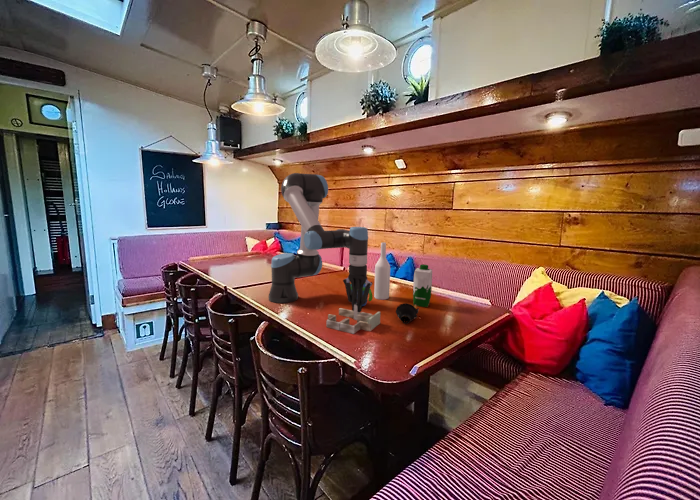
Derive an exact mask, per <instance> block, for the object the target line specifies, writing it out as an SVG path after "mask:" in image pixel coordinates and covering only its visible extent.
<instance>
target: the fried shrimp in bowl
mask: <svg viewBox="0 0 700 500" xmlns="http://www.w3.org/2000/svg"><path fill="white" fill-rule="evenodd" d="M419 310H420V309H419V307H417V306H416V304H414V305H413V304H410V303H401V304H399V305H397V307H396V309H395V314H396V315H397V318H398V319H399V321H400V322H401V323H402V324H405V325H406V324H409V323H411V322H412V321H413V320H414V319H416V318H417V317H418V313H419ZM406 318H407V319H406ZM406 321H407V322H406Z"/></svg>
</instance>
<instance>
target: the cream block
mask: <svg viewBox="0 0 700 500" xmlns="http://www.w3.org/2000/svg"><path fill="white" fill-rule="evenodd" d="M361 312H362V313H360V314H358V315H357V320H356V324H357V323H358V322H359V321H363V322H368V319H369V318H370V317H372V315H373V314H372V313H369V312H364V311H361Z"/></svg>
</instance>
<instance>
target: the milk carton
mask: <svg viewBox="0 0 700 500" xmlns="http://www.w3.org/2000/svg"><path fill="white" fill-rule="evenodd" d="M419 266H420V267H416V269H415V270H414V274H413V289H412V290H413V291H412V303H413V304H412V305H413V306H414V304H416V307H423V308H428V307H429V305H430V302H431V296H432V288H433V287H432V285H433V269H431V268H429V265H428V264H419Z"/></svg>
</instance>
